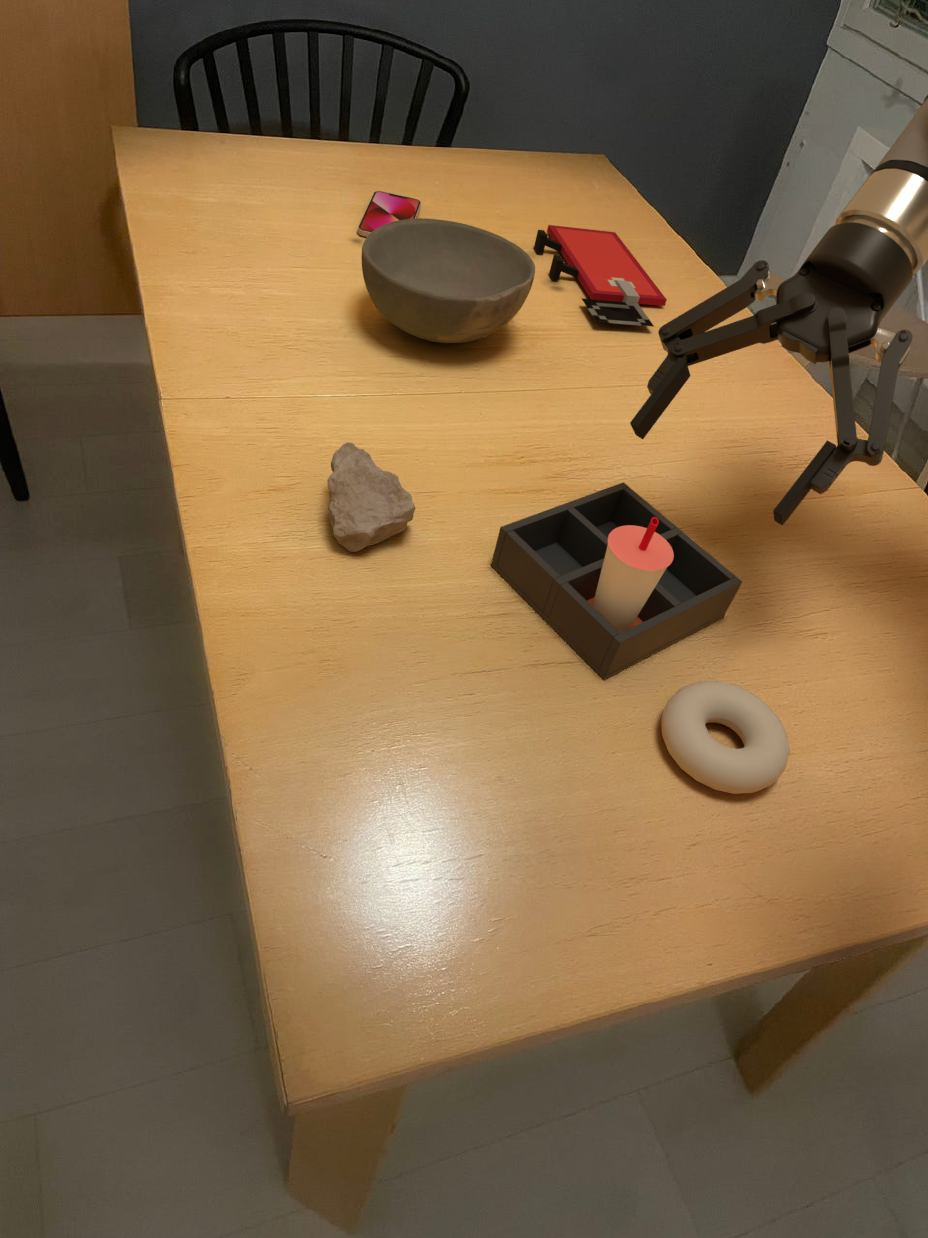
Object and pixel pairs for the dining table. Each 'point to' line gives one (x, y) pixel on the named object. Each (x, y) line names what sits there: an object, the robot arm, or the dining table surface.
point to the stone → (365, 500)
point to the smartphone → (387, 211)
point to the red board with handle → (602, 273)
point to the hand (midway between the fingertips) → (704, 473)
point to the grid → (570, 570)
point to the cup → (630, 572)
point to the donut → (715, 760)
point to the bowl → (445, 278)
